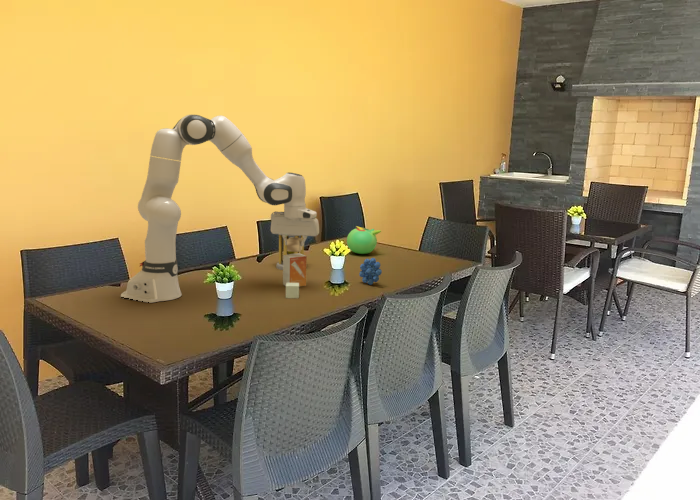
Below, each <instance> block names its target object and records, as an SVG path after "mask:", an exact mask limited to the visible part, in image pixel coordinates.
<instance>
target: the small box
mask: <svg viewBox="0 0 700 500" xmlns="http://www.w3.org/2000/svg"><path fill="white" fill-rule="evenodd" d="M307 261H308V260H307V255H305V254H304V255H303V254H301V252H299V253H298V254H289V255H284V254H283V270H282V285H283V286H284V287H286V283H299V288H300V287H306V286H307Z"/></svg>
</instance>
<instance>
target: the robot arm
mask: <svg viewBox="0 0 700 500" xmlns="http://www.w3.org/2000/svg"><path fill="white" fill-rule="evenodd" d="M206 142H211V143H212V144H213V145H214V146H215V147H216V148H217V149H218V151H219V152H220V154H222V155H223V156H224V157H225V159H226V160H228V161H229V162H231V163H232V164H233V165H235V166H236V167H237V168H238V169H240V170H241V171H242V172H243V173H244V175H245V176H246V177H247V178H248V179H249V181H250V182H251V183H252V185H253V186H254V188H255V192H256V196H257V197H258V199H259V200H260V201H261V202H262V203H265V204H266V203H267V204H268V205H271V206H280V205H283V211H273V212H272V213H271V214H270V221H271V222H270V223H271V224H270V232H271V234H272V235H279V234H282V237H283V242H284V241H285V245H287V238H286V236H287V235H302V236H303V238H304V239H303V241H301V242H300V246H304V247H305V242H306V240H307V239H308V237H317V236H318V235H319V234H320V224H319V219H318V218H317V215H318V212H317V211H316V210H313V209H310V208H307V205H306V196H307V192H306V191H307V190H306V189H307V188H306V179H305V177H304V176H303V175H302V174H299V173H294V172H286V173H285V174H284V175H282V176H281V177H279V178H276V179H273V178H270V177H269V176H267V175H266V174H265V172H264V171H263V170H262V169H261V168H260V166H259V165H258V164H257V162H256V161H255V159H254V157H253V147H252V146H251V143H250V142H249V140H248V138H246V136H245V135H244V134H243V132H242V131H241V130H240V129H239V128H238V126H237V125H235V123H234V122H232V120H230V119H229V118H228V117H226V116H224V115H216V116H214V117H212V118H211V119H209V118H208V117H204V116H201V115H199V114H186V115H185V116H183V117H182V118H180V119H179V120H178V121H177V123H176V124H175V125H174V126H173V128H161V129H159V130H157V131H156V133H155V134H154V137H153V141H152V144H151V148H150V154H149V162H148V169H147V176H146V179H145V184H144V187H143V190H142V193H141V197H140V199H139V201H138V203H137V210H138V213H139V215H140V216H141V218H142V219H143V220H145V221H147V231H146V237H145V238H144V250H145V251H144V253H145V256H144V257H145V260H143V261H142V262H141V263H139V267H142V268H141V270H140V271H139V272H137V273H136V274H135V275H133V276H132V277H131V278H130V279H129V280H128V282H127V284H126V290H125V291H123V292H122V293H121V294H120V298H121V297H124V298H129V299H128V300H130V299H133V300H132V301H136V300H138V301H137V302H142V301H143V302H142V303H148V302H149V303H152V304H153V303H156V302H157V303H158V302H164V301H172V300H175V299H178V298H180V297H181V296H183V294H182V291H181V289H180V283H179V279H178V271H179V270H178V260H177V255H176V254H177V251H176V249H177V248H176V239H177V231H178V226H179V222H180V220H181V217H182V212H181V211H182V210H181V208H180V206H179V205H178V203H176V201H175V200H174V199H172V196H173V194H174V190H175V187H176V186H177V185H178V183H179V178H180V171H181V161H182V156H183V155H182V154H183V152H184V151H183V150H184V148H185V147H186V146H187V145H190V146H196V145H201V144H204V143H206ZM124 298H123V299H124Z"/></svg>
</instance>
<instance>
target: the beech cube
mask: <svg viewBox="0 0 700 500" xmlns="http://www.w3.org/2000/svg"><path fill="white" fill-rule="evenodd" d="M301 241H302V238H301V237H299V238H296V237H294V236H289V239H287V251H292V252H299V253H300V252H301V250H302V246H300V242H301Z"/></svg>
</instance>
